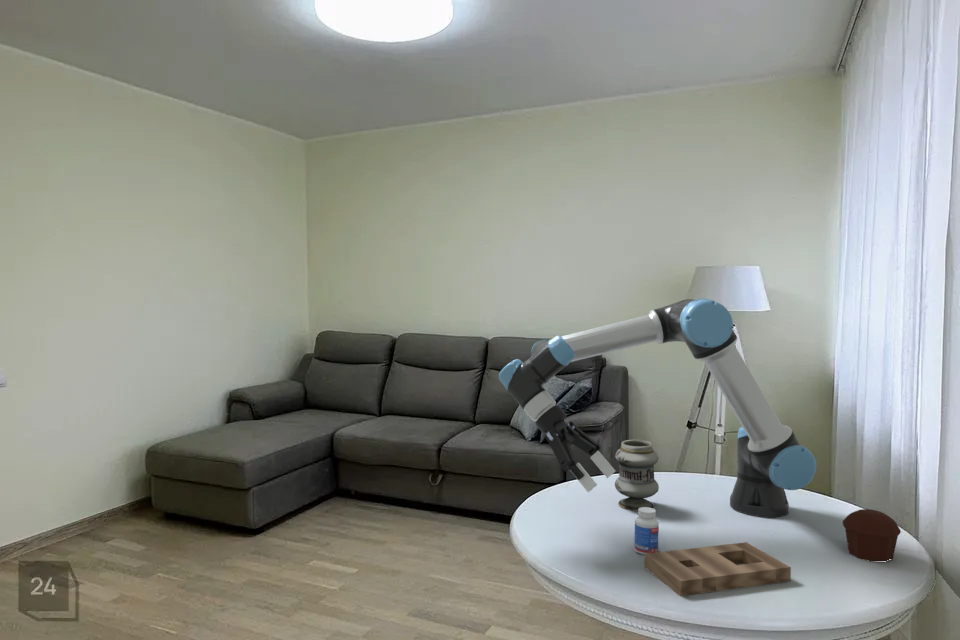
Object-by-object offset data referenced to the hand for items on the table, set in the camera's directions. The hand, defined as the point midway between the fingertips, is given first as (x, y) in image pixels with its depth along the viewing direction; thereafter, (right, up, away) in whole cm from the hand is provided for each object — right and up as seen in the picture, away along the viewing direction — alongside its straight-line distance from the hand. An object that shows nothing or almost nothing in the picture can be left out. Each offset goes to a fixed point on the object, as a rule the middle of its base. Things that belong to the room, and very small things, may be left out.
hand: (602, 481), depth 155 cm
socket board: (+21, -16, -17) cm, 31 cm away
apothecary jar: (+15, -14, +28) cm, 34 cm away
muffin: (+60, -16, -6) cm, 63 cm away
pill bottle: (+9, -15, -5) cm, 18 cm away
